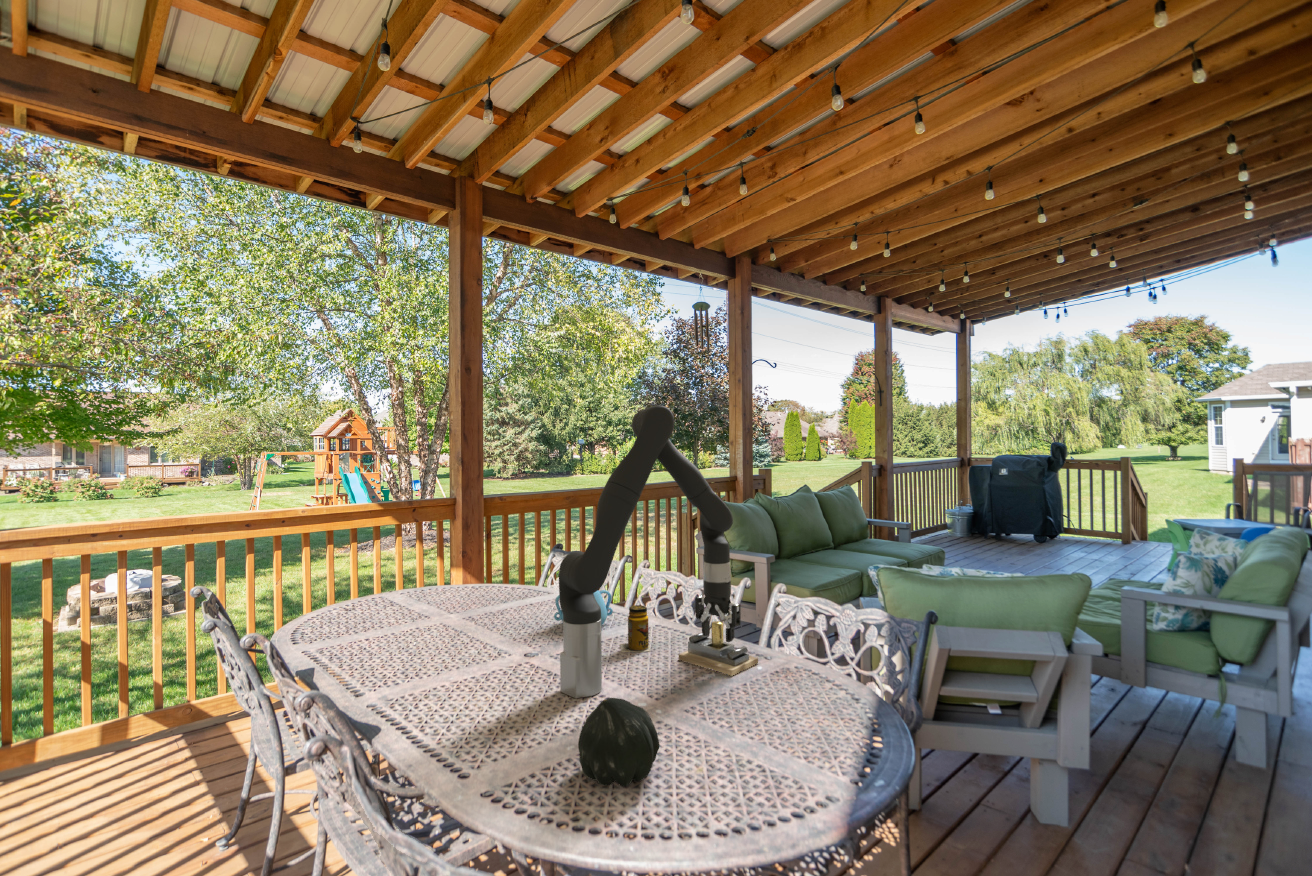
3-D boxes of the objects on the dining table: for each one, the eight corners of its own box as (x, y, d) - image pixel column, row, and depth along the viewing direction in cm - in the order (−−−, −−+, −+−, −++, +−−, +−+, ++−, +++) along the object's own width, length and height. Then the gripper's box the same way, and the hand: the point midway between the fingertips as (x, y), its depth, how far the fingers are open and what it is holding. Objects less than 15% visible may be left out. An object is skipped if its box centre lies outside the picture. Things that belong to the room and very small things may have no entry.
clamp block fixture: (731, 676, 156) (731, 651, 156) (678, 659, 168) (678, 636, 168) (758, 663, 164) (757, 640, 164) (705, 648, 177) (705, 627, 177)
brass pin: (718, 658, 164) (718, 625, 164) (709, 656, 166) (709, 623, 166) (725, 655, 166) (725, 622, 167) (716, 653, 169) (716, 620, 169)
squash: (670, 723, 118) (618, 668, 117) (676, 767, 103) (616, 704, 103) (616, 773, 118) (564, 717, 117) (614, 824, 103) (554, 761, 102)
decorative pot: (550, 620, 207) (549, 580, 207) (606, 615, 213) (605, 576, 213) (558, 638, 188) (558, 594, 188) (620, 631, 194) (619, 589, 194)
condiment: (651, 651, 175) (650, 609, 175) (621, 653, 174) (621, 611, 174) (648, 643, 182) (647, 603, 183) (620, 644, 181) (619, 604, 181)
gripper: (688, 576, 169) (688, 636, 168) (730, 584, 159) (730, 647, 159) (705, 572, 174) (705, 629, 174) (746, 579, 164) (747, 640, 164)
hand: (717, 638), depth 166 cm, fingers open, 7 cm apart
